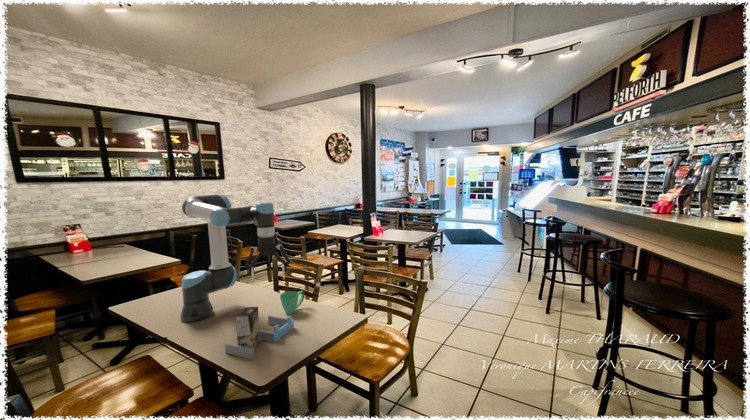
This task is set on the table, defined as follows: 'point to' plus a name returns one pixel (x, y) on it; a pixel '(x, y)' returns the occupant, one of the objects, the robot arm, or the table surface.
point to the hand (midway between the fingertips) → (268, 280)
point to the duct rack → (263, 336)
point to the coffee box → (248, 327)
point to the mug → (291, 301)
